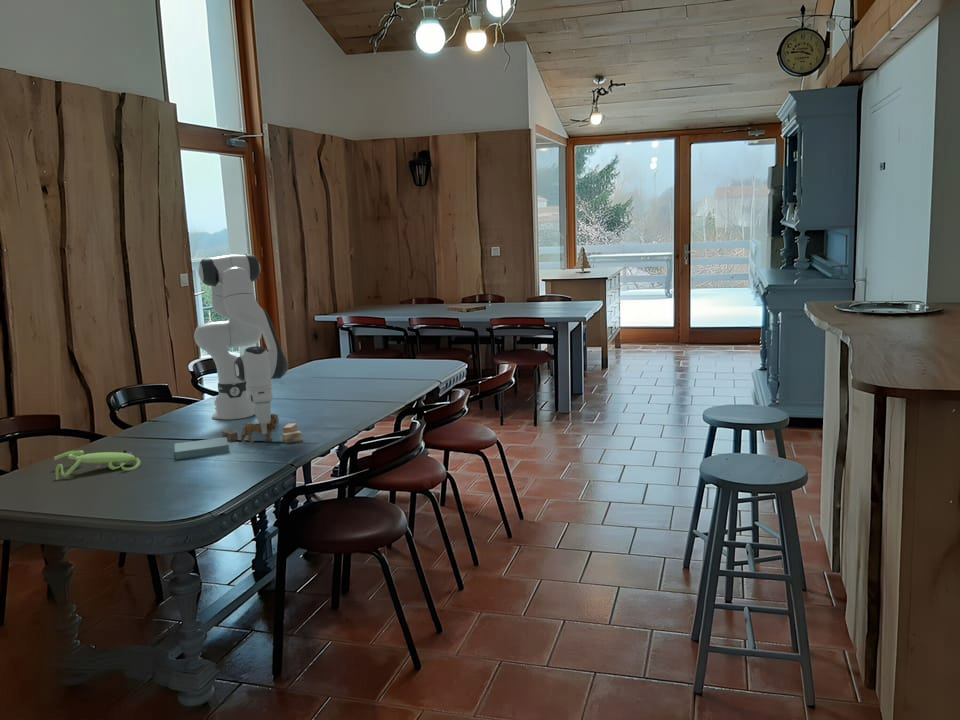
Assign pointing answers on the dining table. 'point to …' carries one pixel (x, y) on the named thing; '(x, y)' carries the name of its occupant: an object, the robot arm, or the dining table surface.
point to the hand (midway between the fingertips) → (263, 431)
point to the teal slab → (201, 448)
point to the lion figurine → (259, 429)
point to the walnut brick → (230, 435)
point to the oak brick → (292, 436)
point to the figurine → (97, 460)
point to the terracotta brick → (290, 428)
